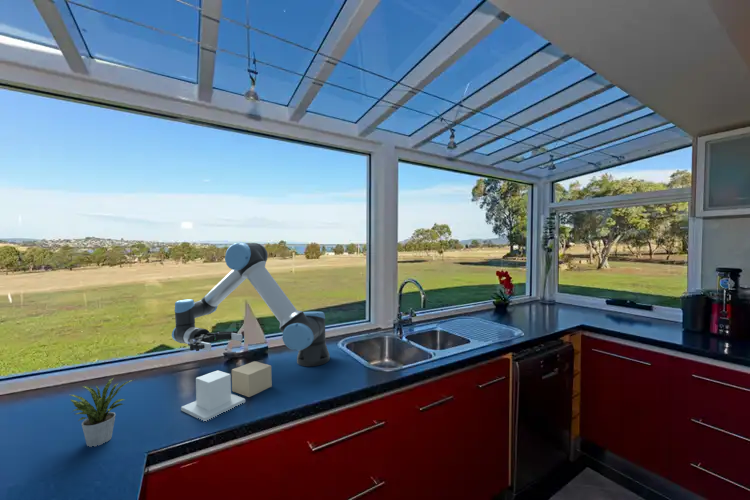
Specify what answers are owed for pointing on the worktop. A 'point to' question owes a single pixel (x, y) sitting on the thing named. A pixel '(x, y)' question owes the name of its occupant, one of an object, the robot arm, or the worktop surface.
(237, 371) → the beige cubic block
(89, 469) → the worktop surface
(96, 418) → the house plant
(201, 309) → the robot arm
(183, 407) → the white serrated base block
